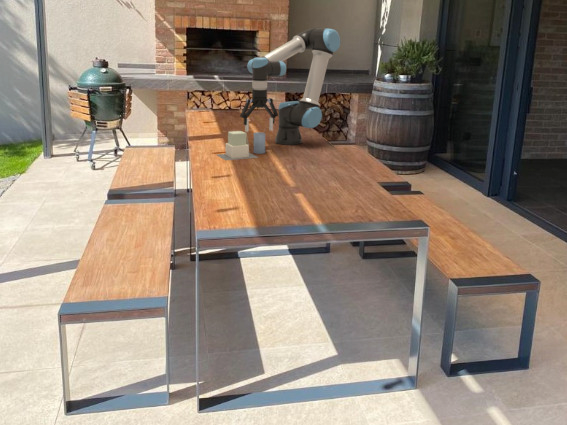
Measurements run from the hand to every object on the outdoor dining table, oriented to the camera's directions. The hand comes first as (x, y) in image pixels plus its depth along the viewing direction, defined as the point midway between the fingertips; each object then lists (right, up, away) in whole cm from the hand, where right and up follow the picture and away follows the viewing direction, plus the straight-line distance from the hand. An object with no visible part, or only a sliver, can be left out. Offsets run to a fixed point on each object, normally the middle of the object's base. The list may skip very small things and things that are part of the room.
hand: (259, 130), depth 331 cm
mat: (-11, -14, -5) cm, 19 cm away
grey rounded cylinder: (0, -12, +4) cm, 12 cm away
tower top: (-11, -8, -7) cm, 15 cm away
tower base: (-11, -13, -6) cm, 18 cm away
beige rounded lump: (-10, -8, +15) cm, 20 cm away
